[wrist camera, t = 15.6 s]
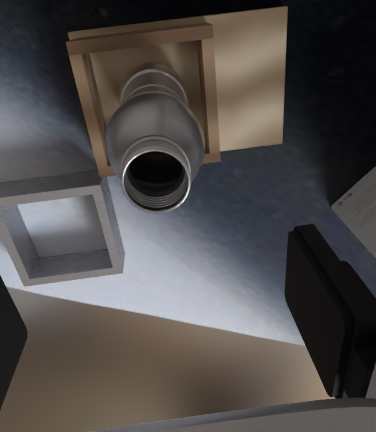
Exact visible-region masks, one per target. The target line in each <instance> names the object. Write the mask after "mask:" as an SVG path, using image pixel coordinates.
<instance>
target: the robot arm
mask: <svg viewBox="0 0 376 432" xmlns="http://www.w3.org/2000/svg"><path fill="white" fill-rule="evenodd" d="M285 299H286V302H287V305H288V307H289V309H290V312H291V314H292V316H293V318H294V321H295V323H296V325H297V327H298V329H299V332H300V334H301V336H302V338H303V341H304V343H305V345H306V347H307V350H308V352H309V354H310V356H311V359H312V361H313V363H314V365H315V367H316V370H317V372H318V374H319V376H320V379H321V381H322V383H323V385H324V388H325V390H326V392H327V394H328V395H329V396H330V397H335V398H336V399H326V400H315V401H307V402H299V403H291V404H282V405H274V406H266V407H258V408H252V409H244V410H237V411H229V412H222V413H215V414H208V415H201V416H193V417H186V418H179V419H172V420H165V421H158V422H151V423H144V424H137V425H130V426H123V427H116V428H109V429H102V430H95V431H89V432H376V298H375V297H374V296H373V294H372V293H371V292H370V290H369V289H368V288H367V286H366V285H365V284H364V282H363V281H362V280H361V278H360V277H359V276H358V274H357V273H356V272H355V271H354V269H353V268H352V267H351V265H350V264H349V263H348V262H346V261H340V260H339V258H338V257H337V256H336V254H335V253H334V252H333V250H332V249H331V247H330V246H329V245H328V243H327V242H326V241H325V239H324V238H323V236H322V235H321V234H320V232H319V231H318V230H317V228H316V227H315V226H314V225H313V224H309V225H302V226H295V227H294V230H293V231H291V232H289V233H288V246H287V263H286V280H285ZM26 340H27V329H26V326H25V324H24V322H23V320H22V318H21V316H20V314H19V312H18V310H17V308H16V306H15V304H14V302H13V300H12V298H11V296H10V294H9V292H8V290H7V288H6V286H5V284H4V282H3V280H2V278H1V276H0V409H1V406H2V404H3V401H4V398H5V396H6V393H7V390H8V388H9V385H10V382H11V380H12V377H13V374H14V372H15V369H16V366H17V364H18V361H19V358H20V356H21V353H22V350H23V348H24V345H25V342H26Z"/></svg>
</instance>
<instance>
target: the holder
mask: <svg viewBox="0 0 376 432" xmlns="http://www.w3.org/2000/svg"><path fill="white" fill-rule="evenodd" d="M86 195H93V197H94V201H95V204H96V208H97V211H98V215H99V219H100V222H101V226H102V230H103V233H104V237H105V241H106V244H107V248H108V249H107V250H99V251H92V252H84V253H77V254H69V255H62V256H54V257H47V258H38V255H37V253H36V250H35V248H34V246H33V243H32V241H31V238H30V236H29V233H28V231H27V228H26V226H25V223H24V221H23V219H22V216H21V214H20V211H19V209H18V206H17V204H25V203H32V202H40V201H48V200H55V199H63V198H71V197H78V196H86ZM0 235H1V237H2V239H3V242H4V244H5V246H6V248H7V250H8V253H9V255H10V257H11V259H12V261H13V263H14V266H15V268H16V270H17V272H18V274H19V277H20V279H21V281H22V283H23V285H24V286H32V285H39V284H46V283H54V282H61V281H68V280H76V279H83V278H91V277H98V276H105V275H113V274H120V273H123V267H124V258H125V251H124V247H123V243H122V239H121V235H120V231H119V227H118V223H117V218H116V214H115V210H114V206H113V202H112V198H111V194H110V190H109V186H108V182H107V177H106V176H105V177H100V176H99V172H98V170H97V171H90V172H82V173H74V174H66V175H59V176H51V177H43V178H35V179H27V180H20V181H12V182H4V183H0Z"/></svg>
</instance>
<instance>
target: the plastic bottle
mask: <svg viewBox="0 0 376 432" xmlns="http://www.w3.org/2000/svg"><path fill="white" fill-rule="evenodd" d="M119 105H120V107H119V108H118V109H117V110H116V111H115V113H114V114H113V116H112V118H111V120H110V122H109V124H108V127H107V130H106V134H105V149H106V155H107V157H108V160H109V163H110V165H111V167H112V169H113V170H114V172H115V174H116V176H117V177H118V178H119V179H120V180H121V186H122V189H123V192H124V194H125V196H126V198H127V199H128V200H129V201H130V203H131V204H133V205H134V206H135V207H136V208H138V209H140V210H142V211H145V212H148V213H154V214H158V213H166V212H169V211H171V210H174V209H175V208H177V207H178V206H180V205H181V204H182V203H183V202H184V200H185V199H186V197H187V195H188V193H189V191H190V186H191V181H192V180H193V179H194V178H195V176H196V175H197V173H198V171H199V169H200V166H201V164H202V162H203V158H204V153H205V139H204V134H203V131H202V128H201V126H200V123H199V121H198V120H197V118H196V117H195V115H194V114H193V112H192V111H191V110H190V109H189V108H188V107H189V96H188V91H187V88H186V86H185V83H184V82H183V80H182V79H181V77H180V76H179V75H178V74H177V73H176V72H175V71H174V70H173V69H171V68H170V67H168V66H166V65H163V64H160V63H144V64H141V65H139V66H136V67H135V68H133V69H132V70H131V71H129V73H128V74H127V75H126V76H125V77H124V79H123V81H122V83H121V86H120V90H119Z"/></svg>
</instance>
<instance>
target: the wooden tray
mask: <svg viewBox="0 0 376 432" xmlns="http://www.w3.org/2000/svg"><path fill="white" fill-rule="evenodd" d="M287 11H288V6H282V7H273V8H265V9H256V10H248V11H240V12H231V13H223V14H215V15H206V16H198V17H190V18H181V19H173V20H164V21H156V22H148V23H139V24H131V25H123V26H114V27H106V28H98V29H89V30H81V31H72V32H68V36H69V40H70V41H67V42H66V46H67V50H68V54H69V58H70V62H71V66H72V70H73V74H74V78H75V82H76V86H77V90H78V93H79V97H80V101H81V105H82V109H83V113H84V117H85V121H86V125H87V129H88V133H89V137H90V141H91V145H92V149H93V152H94V156H95V160H96V164H97V168H98V172H99V176H100V177H105V176H113V175H116V174H115V172H114V170H113V169H112V167H111V165H110V163H109V160H108V157H107V155H106V149H105V134H106V130H107V127H108V124H109V122H110V120H111V118H112V116H113V114H114V113H115V111H116V110H117V109H118V108H119V107H120V105H119V90H120V86H121V83H122V81H123V79H124V77H125V76H126V75H127V74H128V73H129V71H131V70H132V69H133V68H135V67H136V66H139V65H141V64H144V63H160V64H163V65H166V66H168V67H170V68H171V69H173V70H174V71H175V72H176V73H177V74H178V75H179V76H180V77H181V79H182V80H183V82H184V83H185V86H186V88H187V91H188V96H189V107H188V108H189V109H190V110H191V111H192V112H193V114H194V115H195V117H196V118H197V120H198V121H199V123H200V126H201V128H202V131H203V134H204V139H205V153H204V158H203V162H202V164H206V163H214V162H221V160H220V151H226V150H234V149H242V148H250V147H258V146H265V145H273V144H281V143H282V137H283V112H284V86H285V61H286V36H287Z"/></svg>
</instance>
